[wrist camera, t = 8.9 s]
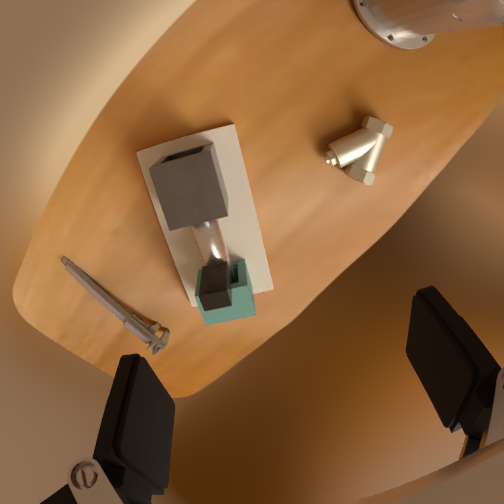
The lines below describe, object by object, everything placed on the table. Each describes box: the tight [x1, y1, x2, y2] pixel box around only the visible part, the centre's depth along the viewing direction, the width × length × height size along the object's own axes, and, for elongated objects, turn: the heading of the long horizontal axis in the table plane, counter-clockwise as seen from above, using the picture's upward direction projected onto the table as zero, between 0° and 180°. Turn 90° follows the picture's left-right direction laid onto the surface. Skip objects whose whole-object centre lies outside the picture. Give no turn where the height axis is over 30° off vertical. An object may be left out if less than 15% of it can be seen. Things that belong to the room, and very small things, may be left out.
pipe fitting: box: [324, 116, 393, 185], centre depth 35 cm, size 8×4×7 cm
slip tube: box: [189, 219, 237, 311], centre depth 35 cm, size 3×14×9 cm, turn 13°
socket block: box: [195, 259, 256, 325], centre depth 40 cm, size 6×5×6 cm
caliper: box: [62, 256, 170, 355], centre depth 42 cm, size 20×1×6 cm, turn 47°
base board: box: [136, 124, 274, 307], centre depth 40 cm, size 12×23×1 cm, turn 13°
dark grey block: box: [149, 142, 228, 231], centre depth 33 cm, size 6×7×6 cm
